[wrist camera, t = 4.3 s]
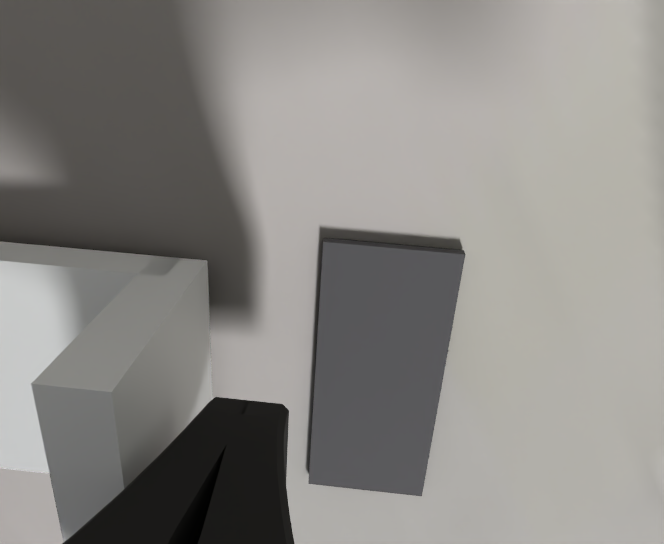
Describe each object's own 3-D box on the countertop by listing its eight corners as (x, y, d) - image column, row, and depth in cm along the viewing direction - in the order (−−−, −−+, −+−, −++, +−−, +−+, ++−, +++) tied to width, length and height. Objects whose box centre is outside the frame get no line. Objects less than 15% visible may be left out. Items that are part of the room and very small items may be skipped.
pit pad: (420, 489, 13) (421, 496, 12) (309, 476, 13) (308, 483, 13) (463, 250, 10) (464, 254, 10) (323, 237, 10) (322, 242, 10)
